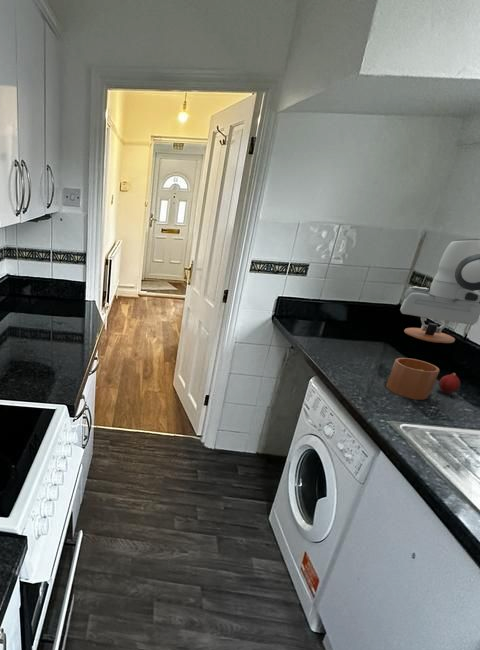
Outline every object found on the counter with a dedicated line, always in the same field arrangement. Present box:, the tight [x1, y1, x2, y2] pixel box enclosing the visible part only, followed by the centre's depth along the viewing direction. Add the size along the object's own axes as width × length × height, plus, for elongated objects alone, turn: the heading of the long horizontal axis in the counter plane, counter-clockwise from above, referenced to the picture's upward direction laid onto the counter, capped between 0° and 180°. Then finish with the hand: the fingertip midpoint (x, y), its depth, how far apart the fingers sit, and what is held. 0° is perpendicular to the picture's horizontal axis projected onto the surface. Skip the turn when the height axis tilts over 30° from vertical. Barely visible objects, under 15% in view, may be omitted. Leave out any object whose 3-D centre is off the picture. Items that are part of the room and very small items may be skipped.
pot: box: [385, 357, 441, 401], centre depth 146 cm, size 13×13×10 cm
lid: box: [403, 322, 456, 344], centre depth 138 cm, size 14×14×5 cm
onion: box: [438, 372, 461, 394], centre depth 147 cm, size 6×6×8 cm
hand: (430, 331), depth 138 cm, fingers closed on lid, 2 cm apart
